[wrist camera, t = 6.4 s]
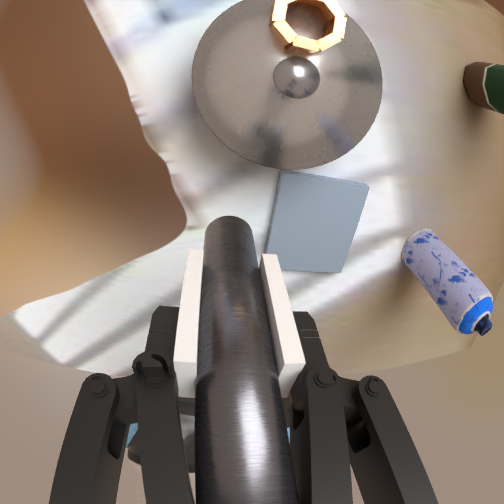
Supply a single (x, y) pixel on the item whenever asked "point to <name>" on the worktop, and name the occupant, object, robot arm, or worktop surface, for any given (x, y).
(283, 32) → the disc
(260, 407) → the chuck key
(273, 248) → the plate
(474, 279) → the aerosol can
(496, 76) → the beer bottle
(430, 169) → the worktop surface
